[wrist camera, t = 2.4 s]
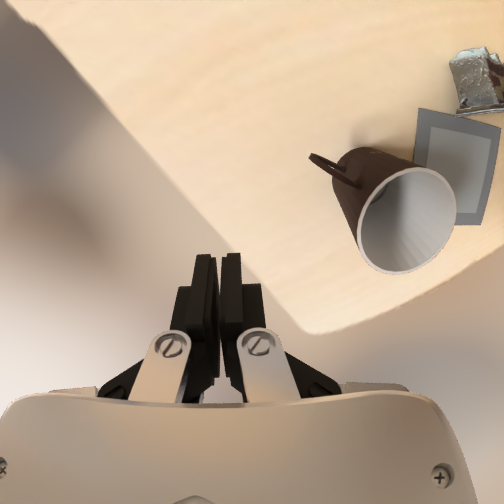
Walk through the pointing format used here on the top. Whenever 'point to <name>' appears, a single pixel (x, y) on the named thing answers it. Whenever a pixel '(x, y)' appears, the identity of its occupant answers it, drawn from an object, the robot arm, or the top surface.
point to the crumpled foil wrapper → (478, 82)
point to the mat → (459, 158)
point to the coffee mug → (392, 208)
